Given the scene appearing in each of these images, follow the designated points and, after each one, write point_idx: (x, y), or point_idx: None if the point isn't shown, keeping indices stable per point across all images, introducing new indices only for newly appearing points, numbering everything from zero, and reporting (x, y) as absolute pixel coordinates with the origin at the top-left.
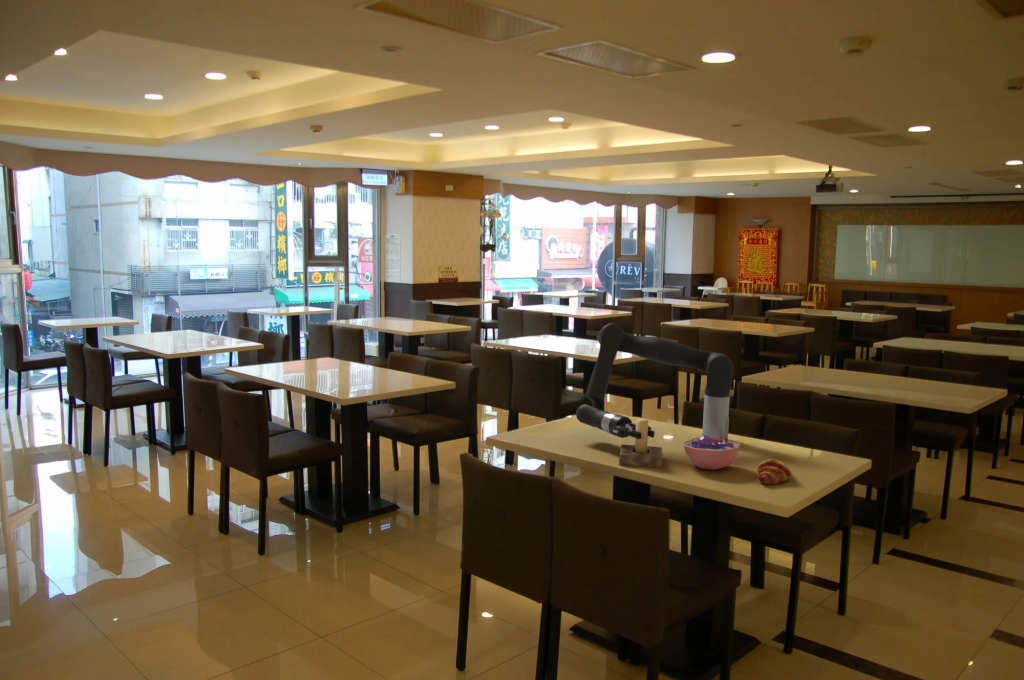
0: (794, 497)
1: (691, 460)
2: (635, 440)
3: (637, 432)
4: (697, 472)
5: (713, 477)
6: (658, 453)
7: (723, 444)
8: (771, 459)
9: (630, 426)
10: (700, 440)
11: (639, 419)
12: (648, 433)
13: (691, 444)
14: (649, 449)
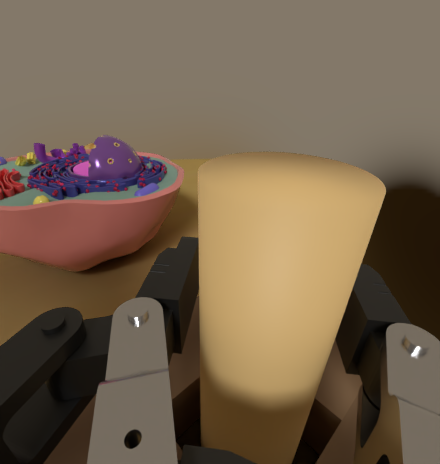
0: (173, 161)
1: (143, 242)
2: (311, 404)
3: (362, 267)
4: (173, 242)
5: (180, 216)
6: (197, 315)
7: (72, 157)
8: (86, 146)
9: (406, 450)
10: (133, 153)
11: (293, 198)
12: (191, 297)
13: (142, 184)
14: None
